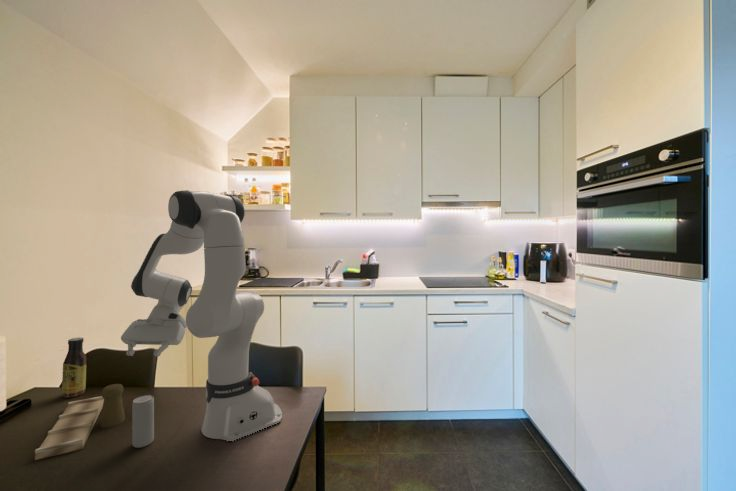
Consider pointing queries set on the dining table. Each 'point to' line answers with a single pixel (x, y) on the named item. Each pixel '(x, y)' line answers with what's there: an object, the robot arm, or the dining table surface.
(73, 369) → the sauce bottle
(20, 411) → the dining table surface
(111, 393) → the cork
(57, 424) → the ledge board
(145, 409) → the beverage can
